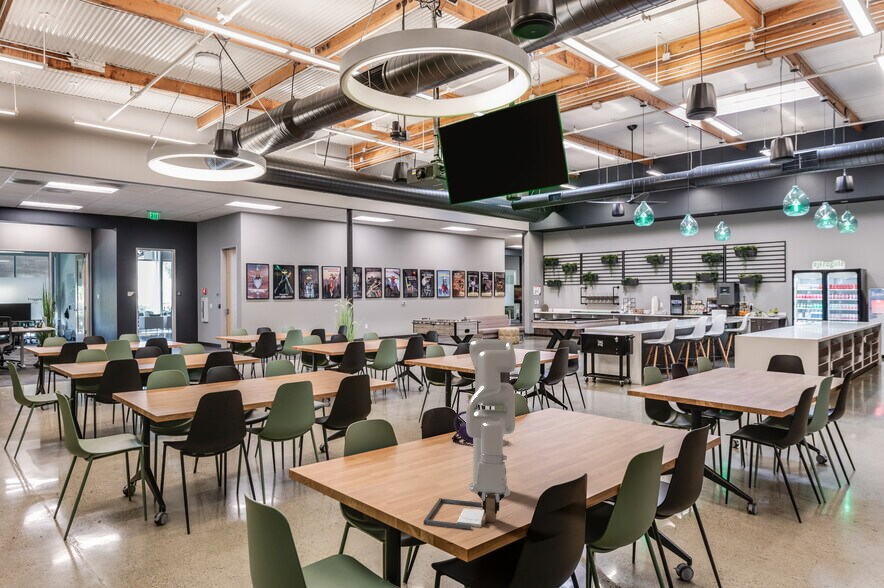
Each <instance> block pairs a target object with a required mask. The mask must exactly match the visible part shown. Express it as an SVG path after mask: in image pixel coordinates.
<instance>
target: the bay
mask: <svg viewBox="0 0 884 588" xmlns="http://www.w3.org/2000/svg"><path fill="white" fill-rule="evenodd" d="M441 502H442V503H441ZM449 503H453V504H452V505H459V504H462V505H461V506H468V505H469V506H471V507H480V508H481V507H482V506H483V502H481V501H480V502H478V501H469V500H460V499H452V498H451V499H449V498H438V500H437V501H436V502H435V504H434V505H433V506H432V508H431V510H430V511H429V513H428V514H427V515H426V517H425V518H424V520H423V525H426V524H428V525H427V526H429V525H430V526H435V525H437V526H436V527H443V526H447V527H446V528H452V527H456V528H455V529H460V528H467V529H466V530H469V529H472V527H471V525H469V524H460V523H457V522H450V521H440V520H433V519H431V518H432V517H433V515H434V514H435V513H436V512H437V510H438V508H439V507H440V506H441V504H449ZM439 505H440V506H439Z"/></svg>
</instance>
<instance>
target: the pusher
mask: <svg viewBox="0 0 884 588" xmlns="http://www.w3.org/2000/svg"><path fill="white" fill-rule="evenodd" d="M495 500H496V493H486V513H484V514H483V517H482V519H481V527H485V525H486V522H487V523H495V522H496V519H497V514H495Z"/></svg>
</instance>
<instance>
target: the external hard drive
mask: <svg viewBox="0 0 884 588" xmlns="http://www.w3.org/2000/svg"><path fill="white" fill-rule="evenodd" d="M483 514H484V509H475V508H465V507H464V508H463V509H462V511H461V514H460V515H459V518H458V519H457V521H456V523H460V524H469V525H471V526H476V527H475V528H480V527H481V528H482V526H481V519H482V517H483Z"/></svg>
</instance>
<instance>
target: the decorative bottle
mask: <svg viewBox="0 0 884 588" xmlns="http://www.w3.org/2000/svg"><path fill="white" fill-rule="evenodd" d="M473 395H474V394H467V398H468V400H466V401H465V402H466V403H467V404H466V407H467V405H468V402H469V400H470V399H471V397H472V396H473ZM476 407H477V405H476V406H475V408H476ZM475 408H474V412H475V411H477V410H476V409H475ZM464 414H466V411H465V410H464V411H460V412H459V413H457V414H456V415H455V417H454V419H453V428H454V430H455V432H456V433H455V434H453V436H452V437H451V440H452V441H453V439H454V440H456V439H458V438H461V439H462V440H463V441H464V440H466V441H465V442H467V441H468V443H473V438H472V437H470V436H469V435H468V434H467V430H466V422H461V423H460V426H459V429H458V428H457V420H458V418H459V417H460V416H462V415H464ZM462 419H464V418H462ZM455 438H456V439H455Z"/></svg>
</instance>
